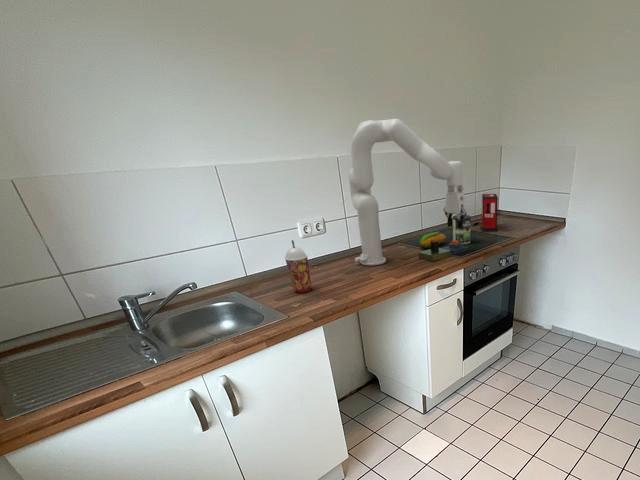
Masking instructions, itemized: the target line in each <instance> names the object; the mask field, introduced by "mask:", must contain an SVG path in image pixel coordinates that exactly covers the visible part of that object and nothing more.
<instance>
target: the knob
mask: <svg viewBox="0 0 640 480" xmlns="http://www.w3.org/2000/svg"><path fill="white" fill-rule="evenodd" d="M430 242H431V248H430V249H431V252H438V251H439V248H440V245H439V242H438V241H437V240H431V241H430Z"/></svg>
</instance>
